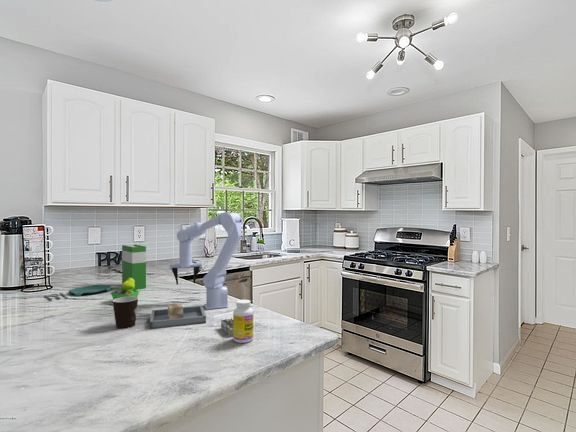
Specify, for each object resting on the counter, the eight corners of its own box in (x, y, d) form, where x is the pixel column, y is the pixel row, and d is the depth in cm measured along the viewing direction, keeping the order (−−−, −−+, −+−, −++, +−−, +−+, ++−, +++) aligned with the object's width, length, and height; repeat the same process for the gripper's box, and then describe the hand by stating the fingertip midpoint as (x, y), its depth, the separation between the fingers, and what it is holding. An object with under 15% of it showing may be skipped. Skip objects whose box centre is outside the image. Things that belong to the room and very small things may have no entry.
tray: (202, 311, 141) (202, 305, 141) (205, 322, 126) (205, 316, 126) (152, 316, 135) (152, 310, 135) (149, 328, 120) (149, 322, 120)
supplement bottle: (244, 345, 104) (244, 305, 104) (229, 341, 108) (228, 302, 108) (257, 338, 110) (257, 300, 110) (242, 334, 114) (242, 297, 114)
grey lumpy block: (249, 334, 115) (249, 322, 115) (228, 338, 111) (228, 326, 111) (238, 325, 124) (238, 314, 124) (218, 328, 121) (218, 317, 121)
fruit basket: (109, 303, 156) (109, 279, 156) (125, 298, 164) (125, 276, 164) (127, 305, 151) (127, 281, 151) (142, 300, 160) (142, 277, 160)
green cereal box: (122, 285, 194) (122, 245, 194) (135, 283, 199) (135, 244, 199) (132, 290, 182) (132, 247, 182) (146, 288, 187) (145, 246, 187)
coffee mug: (127, 330, 118) (127, 302, 118) (107, 329, 120) (107, 301, 120) (147, 320, 129) (147, 295, 129) (128, 319, 131) (128, 294, 131)
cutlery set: (116, 291, 179) (116, 287, 179) (49, 303, 157) (49, 298, 157) (104, 286, 193) (104, 283, 193) (41, 296, 171) (41, 292, 171)
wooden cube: (180, 315, 134) (180, 303, 134) (183, 319, 129) (183, 306, 129) (167, 317, 131) (167, 305, 131) (169, 321, 127) (169, 308, 127)
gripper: (200, 253, 161) (200, 280, 161) (169, 254, 156) (169, 282, 156) (202, 254, 154) (202, 283, 154) (169, 256, 149) (169, 285, 149)
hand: (185, 283), depth 154 cm, fingers open, 7 cm apart
